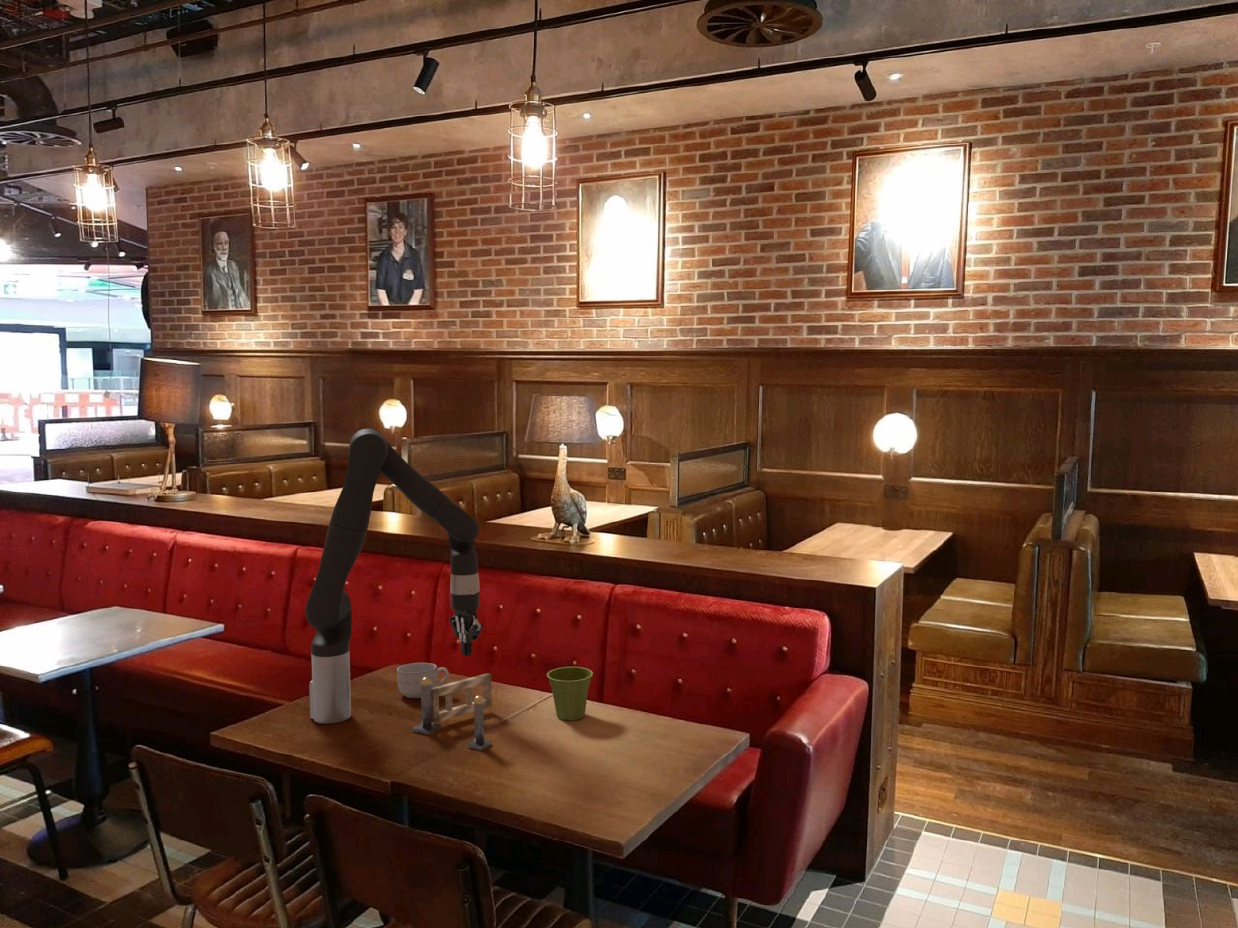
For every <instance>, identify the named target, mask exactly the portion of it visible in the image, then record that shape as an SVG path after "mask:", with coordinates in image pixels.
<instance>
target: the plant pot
mask: <svg viewBox="0 0 1238 928" xmlns="http://www.w3.org/2000/svg"><path fill="white" fill-rule="evenodd" d="M593 675H594V672H593V671H592V670H591V669H589V668H586V667H581V666H565V667H564V666H563V667H557V668H555V669H551V670H549V671H548V672H547V673H546V677H547V678H548V679H549V685H550V687H551V692H552V697H553V698H552V699H553V703H554V709H555V712H556V717H557V718H558V719H559V720H563V721H565V720H568V721H577V720H581V719H583V717H584V716H586V709H587V701H588V695H589V693H588V692H589V687H590V685H591V679H592V677H593Z"/></svg>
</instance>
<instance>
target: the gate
mask: <svg viewBox="0 0 1238 928" xmlns="http://www.w3.org/2000/svg"><path fill="white" fill-rule="evenodd" d="M482 685H483V686H482ZM478 686H482V688H483V691H482V692H483V693H482V694H483V695H482V697H483V698H484V709H487V708H491V707H492V706H493V705H492V704H493V703H492V674H491V673H488V672H487V673H484V674H483V673H482V674H479V675H475V676H472V677H468V678H463V679H461V680H456V681H452V682H449V683H446V684H441V685H439V686H437V687H433V688H431V709H432V723H437V724H438V723H439V722H443V721H446V720H447V721H448V720H450V719H453V718H457V717H459V716H464V715H467V714H470V713H474V701H473V688H474V687H478ZM464 690H465V703H464V704H461V705H457V706H454V707H453V693H455V692H459V691H464ZM441 696H445V709H443V710H440V700H439V699H440V697H441Z"/></svg>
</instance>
